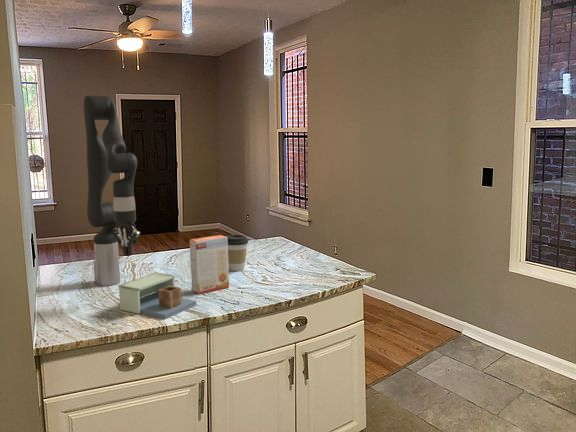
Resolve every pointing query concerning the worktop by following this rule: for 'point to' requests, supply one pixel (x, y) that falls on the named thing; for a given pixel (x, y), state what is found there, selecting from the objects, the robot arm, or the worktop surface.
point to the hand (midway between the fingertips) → (127, 255)
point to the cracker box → (209, 263)
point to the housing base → (152, 308)
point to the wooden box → (169, 297)
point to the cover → (142, 290)
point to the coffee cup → (236, 252)
